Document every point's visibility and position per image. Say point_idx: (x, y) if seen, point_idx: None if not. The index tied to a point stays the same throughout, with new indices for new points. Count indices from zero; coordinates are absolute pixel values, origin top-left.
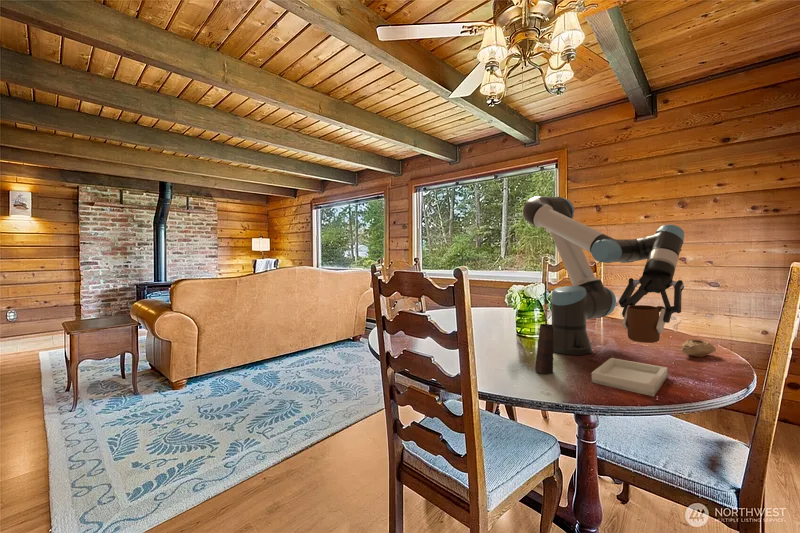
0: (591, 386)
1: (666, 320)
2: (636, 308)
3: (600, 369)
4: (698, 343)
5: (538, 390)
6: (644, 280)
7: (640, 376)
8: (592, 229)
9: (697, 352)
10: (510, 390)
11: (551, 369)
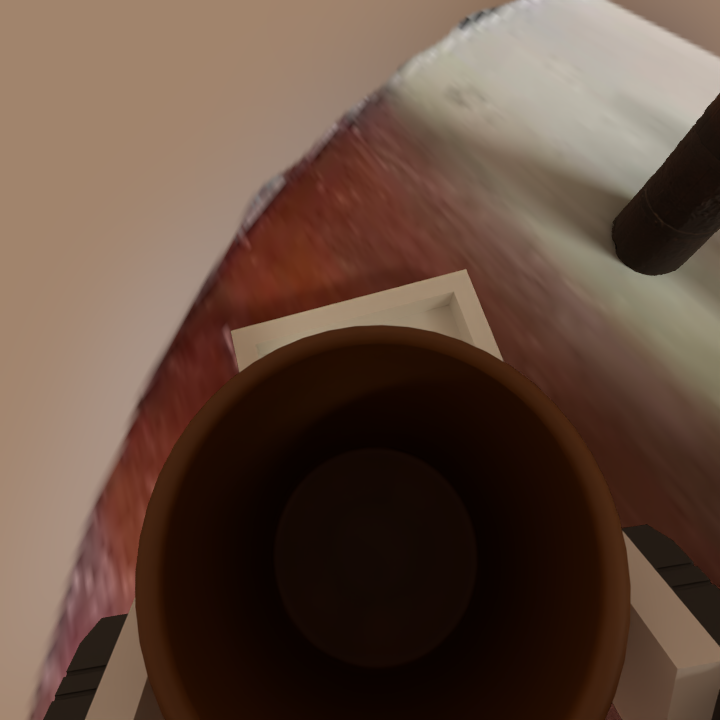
0: (429, 255)
1: (116, 625)
2: (564, 690)
3: (475, 338)
4: None
5: (494, 94)
6: None
7: None
8: None
9: None
10: (535, 35)
11: (620, 233)
